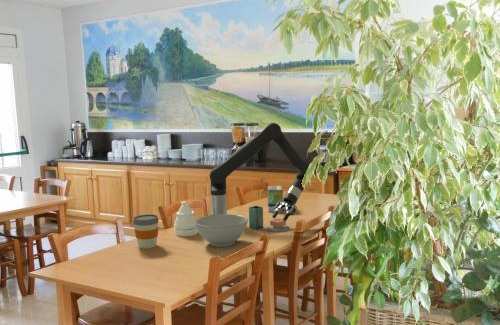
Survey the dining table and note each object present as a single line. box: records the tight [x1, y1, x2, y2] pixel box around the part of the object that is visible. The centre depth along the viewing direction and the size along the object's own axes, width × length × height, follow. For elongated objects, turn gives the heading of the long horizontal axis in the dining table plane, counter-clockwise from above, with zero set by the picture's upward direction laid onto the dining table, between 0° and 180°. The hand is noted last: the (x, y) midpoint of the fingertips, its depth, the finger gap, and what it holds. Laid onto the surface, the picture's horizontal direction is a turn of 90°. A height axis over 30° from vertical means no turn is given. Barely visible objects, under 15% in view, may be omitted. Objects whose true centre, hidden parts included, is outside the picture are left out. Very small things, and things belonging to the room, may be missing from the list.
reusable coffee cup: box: [133, 214, 159, 249], centre depth 251 cm, size 13×13×15 cm
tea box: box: [266, 185, 284, 213], centre depth 326 cm, size 15×10×15 cm, turn 179°
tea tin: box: [248, 205, 264, 230], centre depth 281 cm, size 6×6×12 cm
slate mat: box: [266, 224, 291, 233], centre depth 278 cm, size 13×13×1 cm
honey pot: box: [173, 201, 199, 237], centre depth 274 cm, size 13×13×18 cm
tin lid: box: [269, 218, 287, 229], centre depth 277 cm, size 6×6×4 cm
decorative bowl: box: [195, 213, 249, 248], centre depth 253 cm, size 27×27×12 cm
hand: (278, 219), depth 277 cm, fingers open, 8 cm apart
